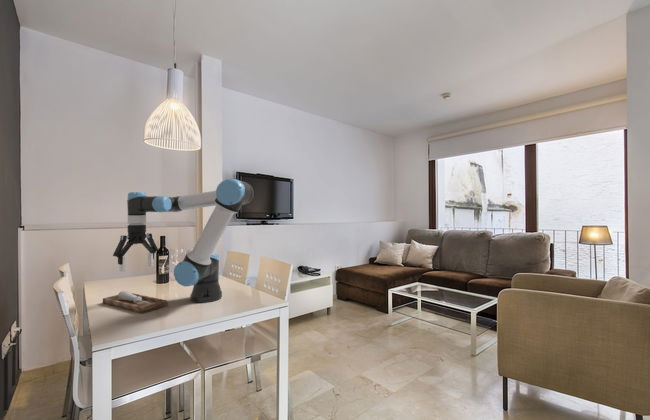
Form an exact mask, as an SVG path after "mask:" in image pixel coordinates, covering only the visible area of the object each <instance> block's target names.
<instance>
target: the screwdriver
mask: <svg viewBox="0 0 650 420" xmlns="http://www.w3.org/2000/svg"><path fill="white" fill-rule="evenodd" d="M131 293H132V292H131V291H128V290H121V291H120V292H118V294H117V295H118V298H119V299H120V300H124V301H132V302H134V303H140V302H144V303H147V304H150V305H151V303H148V302H145V301H142V297H140V296H138V297H137V296H136V295H133V294H131Z"/></svg>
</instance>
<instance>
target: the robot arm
mask: <svg viewBox="0 0 650 420" xmlns="http://www.w3.org/2000/svg"><path fill="white" fill-rule="evenodd" d="M254 195H255V194H254V189H253V187H252V185H251V184H249V182H246V181H242V180H239V179H236V178H228V179H227V178H226V179H224V180H222V181H220V182H219V184H218V185H217V187H216V189H215V190H212V191H204V192H199V193H192V194H186V195H180V196H173V197H172V196H164V195H156V196H149V195H148V196H147V194H146V192H141V191H130V192H128V193H127V200H126V203H127V204H126V206H127V224H128V225H127V235H122V234H121V235H120V239H119V242H118V244H117V246H116V248H115V250H114V252H113V254H112V256H113V257H116V258H117V265H119V272H121V273H122V272H124V273H125V272H126V257H125V254H126V253H128V251H129V249H130V248H131V247H132V246H134V245H137V244H138V245H139V244H141V245H143V247H144V248H145V249H146V250H147V252H148V253H147V267H154V260H155V254H156V252H158V251H159V248H158V246H157V243H155V240H154V238H153V234H152V233H149V232H148V233H146V232H147V225H146V224H147V213H178V212H179V213H180V212H183V211H187V210H194V209H201V208H209V207H214V209H213V211H212V213H211V215H210V216H209V218H208V220H207V221H206V224H205V226H204V228H203V229H202V230H201V233H200V235H199V237H198V239H197V241H196V243H195V245H194V247H193V249H192V250H189V251H187V253H186V254H185V256H184V258H183V259H182V261H179V262H178V263H177V264H176V265H175V266H174V268H173V276H174V280H175V281H176V283H177V284H179V285H180V286H183V287H192V289H191V290H192V291H191V293H190V298H189V300H190V301H191V302H193V303H210V301H211V302H214V301H218V300H221V299H222V298H221V297H223V292H222V288H221V284H220V281H219V279H220V278H219V274H220V272H219V270H220V265H219V264H220V260H219V255H218V254H217V253H214V251H215V249H216V248H217V246H218V244H219V242H220V240H221V238H222V236H223V234H224V233H225V231H226V230H227V227H228V225H229V223H230V221H231V219H232V218H233V216H234V214H238V213H239V211H240V209H241V208H242V206H245V205H247V204H250V202H252V200H253V198H254Z"/></svg>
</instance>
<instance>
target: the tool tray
mask: <svg viewBox="0 0 650 420" xmlns="http://www.w3.org/2000/svg"><path fill="white" fill-rule="evenodd" d="M130 293H131V294H133V295H136V296H137V297H138V296H140V297H142V301H145V302H148V303H151V305H150V304H147V303H144V302H140V303H134V302H132V301H124V300H120V299H119V298H118V294H115V295H111V296H108V297H103V298H102V304H103V305H105V306H106V305H107V306H112V307H114V308H118V309H122V310H126V311H130V312H134V313H138V314H146V313H149V312H152V311H154V310H158V309H161V308H165V307H167V306H168V300H167V299H162V298H157V297H153V296H147V295H144V294H138V293H133V292H130Z"/></svg>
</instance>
